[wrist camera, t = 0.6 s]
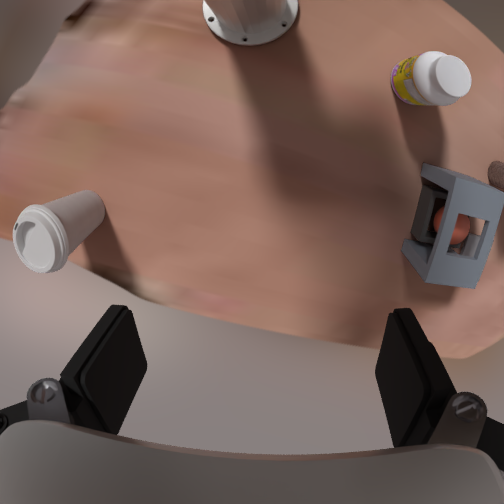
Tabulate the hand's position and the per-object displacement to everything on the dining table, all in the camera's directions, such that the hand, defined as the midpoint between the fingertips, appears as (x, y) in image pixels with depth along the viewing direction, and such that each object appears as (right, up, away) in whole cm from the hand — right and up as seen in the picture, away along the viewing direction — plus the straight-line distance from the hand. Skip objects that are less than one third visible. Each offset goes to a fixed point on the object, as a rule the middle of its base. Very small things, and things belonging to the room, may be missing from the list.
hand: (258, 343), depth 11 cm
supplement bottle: (+22, +27, +25) cm, 42 cm away
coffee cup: (-27, +10, +36) cm, 46 cm away
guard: (+28, +9, +32) cm, 43 cm away
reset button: (+28, +8, +29) cm, 41 cm away
